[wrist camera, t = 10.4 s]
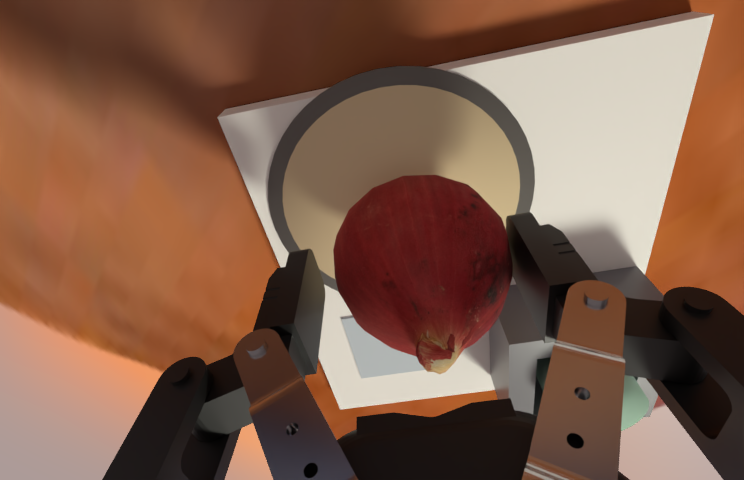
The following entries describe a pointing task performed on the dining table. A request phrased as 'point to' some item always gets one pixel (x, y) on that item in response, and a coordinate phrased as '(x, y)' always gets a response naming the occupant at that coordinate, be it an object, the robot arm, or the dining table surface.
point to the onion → (424, 266)
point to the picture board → (476, 165)
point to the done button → (632, 395)
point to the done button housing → (525, 345)
